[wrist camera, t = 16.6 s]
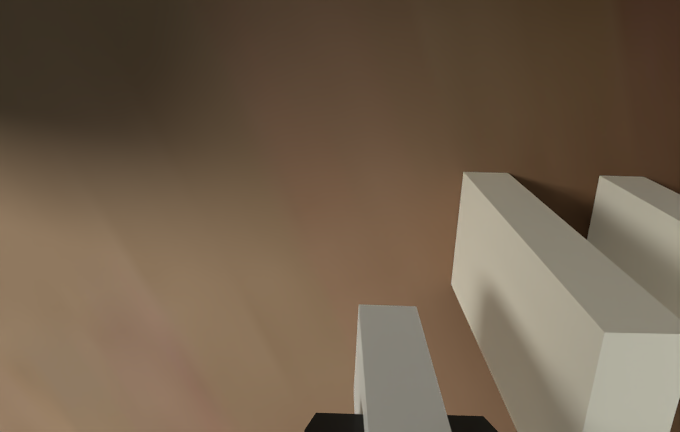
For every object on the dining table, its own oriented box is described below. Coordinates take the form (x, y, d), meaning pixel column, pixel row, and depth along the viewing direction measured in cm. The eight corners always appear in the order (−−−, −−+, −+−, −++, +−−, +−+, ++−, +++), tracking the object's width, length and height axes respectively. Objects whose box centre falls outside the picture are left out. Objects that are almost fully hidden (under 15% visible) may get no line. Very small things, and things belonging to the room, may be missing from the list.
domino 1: (451, 284, 23) (560, 528, 12) (463, 171, 22) (604, 332, 10) (493, 285, 23) (643, 530, 12) (509, 173, 22) (700, 334, 10)
